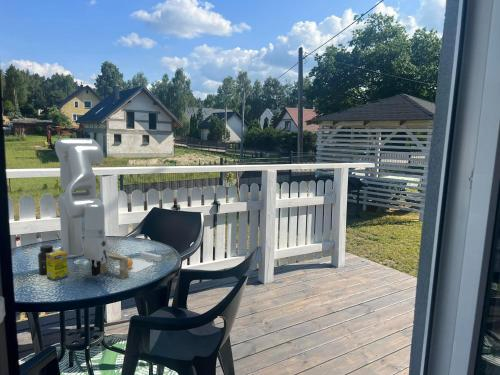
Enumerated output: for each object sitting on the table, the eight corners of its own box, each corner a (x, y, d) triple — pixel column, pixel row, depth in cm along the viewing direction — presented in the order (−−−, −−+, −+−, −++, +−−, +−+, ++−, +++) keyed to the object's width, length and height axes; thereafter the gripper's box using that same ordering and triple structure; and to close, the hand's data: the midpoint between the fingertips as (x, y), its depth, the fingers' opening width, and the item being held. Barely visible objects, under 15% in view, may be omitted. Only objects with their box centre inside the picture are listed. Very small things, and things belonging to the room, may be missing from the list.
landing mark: (135, 272, 167) (135, 272, 167) (114, 267, 173) (114, 267, 173) (155, 264, 178) (155, 263, 178) (134, 259, 184) (134, 259, 184)
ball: (119, 268, 166) (123, 257, 167) (117, 266, 171) (122, 255, 172) (131, 272, 169) (135, 260, 170) (129, 269, 174) (133, 258, 175)
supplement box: (54, 281, 155) (53, 256, 154) (46, 278, 158) (45, 253, 157) (68, 277, 160) (67, 252, 159) (60, 273, 163) (59, 249, 162)
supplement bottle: (35, 275, 161) (33, 248, 159) (45, 269, 168) (43, 243, 166) (50, 276, 161) (49, 249, 159) (59, 270, 167) (58, 244, 166)
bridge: (123, 279, 160) (122, 258, 158) (99, 272, 166) (98, 252, 165) (128, 276, 162) (128, 256, 161) (104, 270, 169) (103, 250, 167)
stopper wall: (159, 261, 182) (159, 256, 181) (140, 257, 187) (140, 252, 187) (161, 260, 184) (161, 255, 183) (143, 256, 189) (143, 251, 188)
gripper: (115, 233, 153) (116, 275, 156) (89, 227, 160) (90, 268, 163) (100, 237, 147) (101, 281, 150) (74, 231, 153) (76, 273, 156)
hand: (96, 274), depth 156 cm, fingers closed
